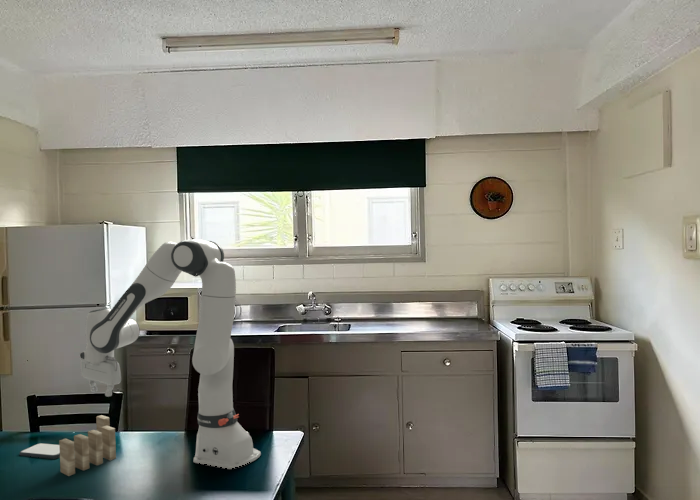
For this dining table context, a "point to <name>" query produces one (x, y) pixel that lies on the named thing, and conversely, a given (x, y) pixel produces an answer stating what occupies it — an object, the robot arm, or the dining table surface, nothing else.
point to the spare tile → (102, 422)
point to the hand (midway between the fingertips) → (101, 393)
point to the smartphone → (42, 451)
